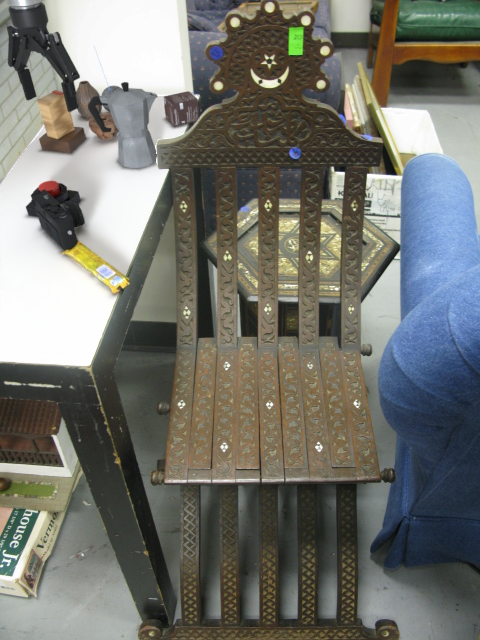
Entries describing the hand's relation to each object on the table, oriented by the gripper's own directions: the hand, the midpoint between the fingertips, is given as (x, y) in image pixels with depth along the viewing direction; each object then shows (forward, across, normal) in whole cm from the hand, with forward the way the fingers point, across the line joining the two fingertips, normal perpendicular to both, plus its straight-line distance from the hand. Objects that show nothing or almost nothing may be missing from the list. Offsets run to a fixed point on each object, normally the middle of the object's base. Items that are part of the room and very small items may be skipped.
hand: (51, 104), depth 132 cm
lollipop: (-1, -4, -21) cm, 21 cm away
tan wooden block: (+7, 0, 0) cm, 7 cm away
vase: (+10, +5, -16) cm, 20 cm away
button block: (+10, -19, +22) cm, 31 cm away
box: (+7, -21, -28) cm, 36 cm away
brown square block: (+10, 0, 0) cm, 10 cm away
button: (+7, -19, +22) cm, 30 cm away
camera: (+10, -29, +28) cm, 42 cm away
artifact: (+10, -8, -8) cm, 15 cm away
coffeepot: (+10, -21, -2) cm, 24 cm away
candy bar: (+8, -42, +34) cm, 55 cm away
